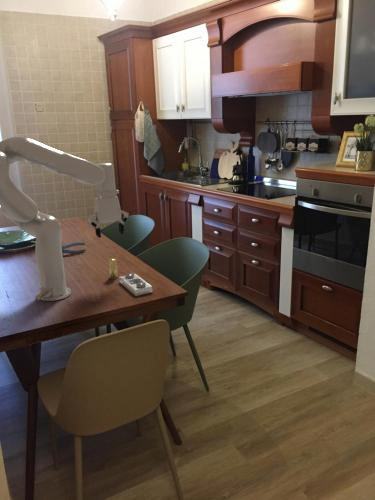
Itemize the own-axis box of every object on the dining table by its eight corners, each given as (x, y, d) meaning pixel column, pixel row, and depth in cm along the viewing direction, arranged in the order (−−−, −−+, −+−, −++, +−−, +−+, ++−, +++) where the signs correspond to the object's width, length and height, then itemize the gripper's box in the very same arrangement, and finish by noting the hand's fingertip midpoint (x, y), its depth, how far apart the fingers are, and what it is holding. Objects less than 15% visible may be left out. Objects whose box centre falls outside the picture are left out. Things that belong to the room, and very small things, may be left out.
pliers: (45, 258, 215) (44, 247, 213) (45, 257, 217) (43, 246, 215) (86, 252, 223) (85, 241, 221) (85, 251, 224) (84, 240, 223)
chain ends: (152, 292, 169) (151, 283, 168) (135, 296, 166) (134, 287, 165) (135, 279, 183) (135, 271, 182) (120, 282, 180) (119, 274, 179)
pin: (116, 278, 184) (114, 260, 182) (108, 278, 185) (107, 260, 183) (118, 276, 188) (117, 258, 185) (111, 275, 188) (110, 258, 186)
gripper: (123, 190, 183) (126, 230, 188) (82, 195, 175) (87, 236, 180) (130, 193, 177) (133, 233, 182) (88, 198, 169) (92, 240, 174)
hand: (110, 235), depth 181 cm, fingers open, 9 cm apart
